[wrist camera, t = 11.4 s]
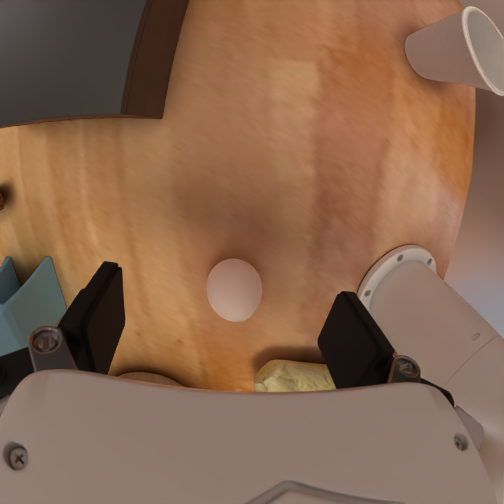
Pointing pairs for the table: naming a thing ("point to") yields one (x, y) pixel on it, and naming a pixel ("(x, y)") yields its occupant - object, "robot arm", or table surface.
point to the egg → (234, 289)
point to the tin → (1, 202)
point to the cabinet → (86, 58)
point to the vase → (27, 304)
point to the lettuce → (292, 377)
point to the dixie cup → (460, 51)
